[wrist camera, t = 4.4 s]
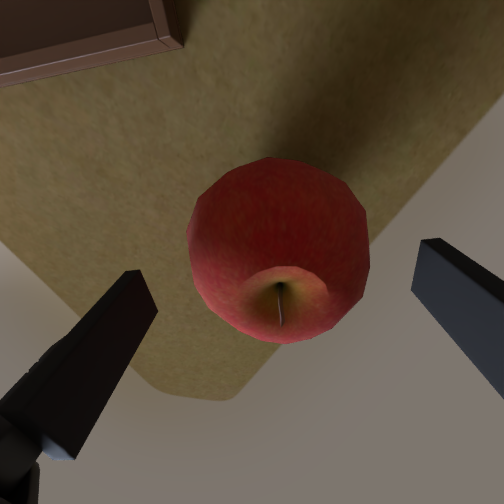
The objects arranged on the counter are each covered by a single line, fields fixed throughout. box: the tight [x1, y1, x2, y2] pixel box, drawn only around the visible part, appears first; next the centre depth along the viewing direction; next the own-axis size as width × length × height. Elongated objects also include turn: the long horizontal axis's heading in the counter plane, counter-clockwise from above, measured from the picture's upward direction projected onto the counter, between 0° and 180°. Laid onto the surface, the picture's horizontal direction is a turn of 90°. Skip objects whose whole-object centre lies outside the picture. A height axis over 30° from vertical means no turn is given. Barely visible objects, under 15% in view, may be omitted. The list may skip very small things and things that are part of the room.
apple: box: [186, 157, 370, 344], centre depth 15 cm, size 10×10×14 cm
